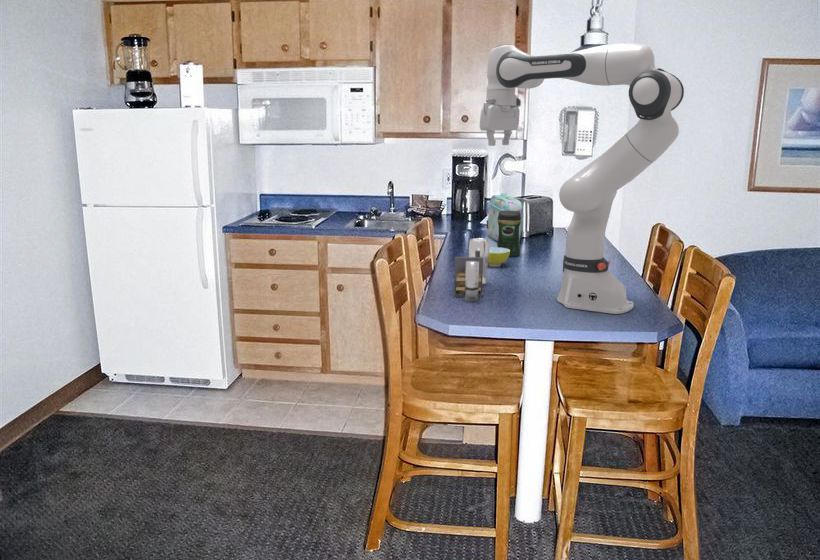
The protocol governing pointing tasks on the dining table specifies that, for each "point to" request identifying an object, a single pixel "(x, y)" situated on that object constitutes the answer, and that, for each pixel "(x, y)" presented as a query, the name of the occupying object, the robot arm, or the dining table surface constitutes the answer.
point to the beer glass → (480, 253)
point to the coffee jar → (509, 231)
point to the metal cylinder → (471, 281)
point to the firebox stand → (461, 272)
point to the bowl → (497, 256)
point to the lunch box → (498, 205)
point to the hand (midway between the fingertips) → (498, 145)
